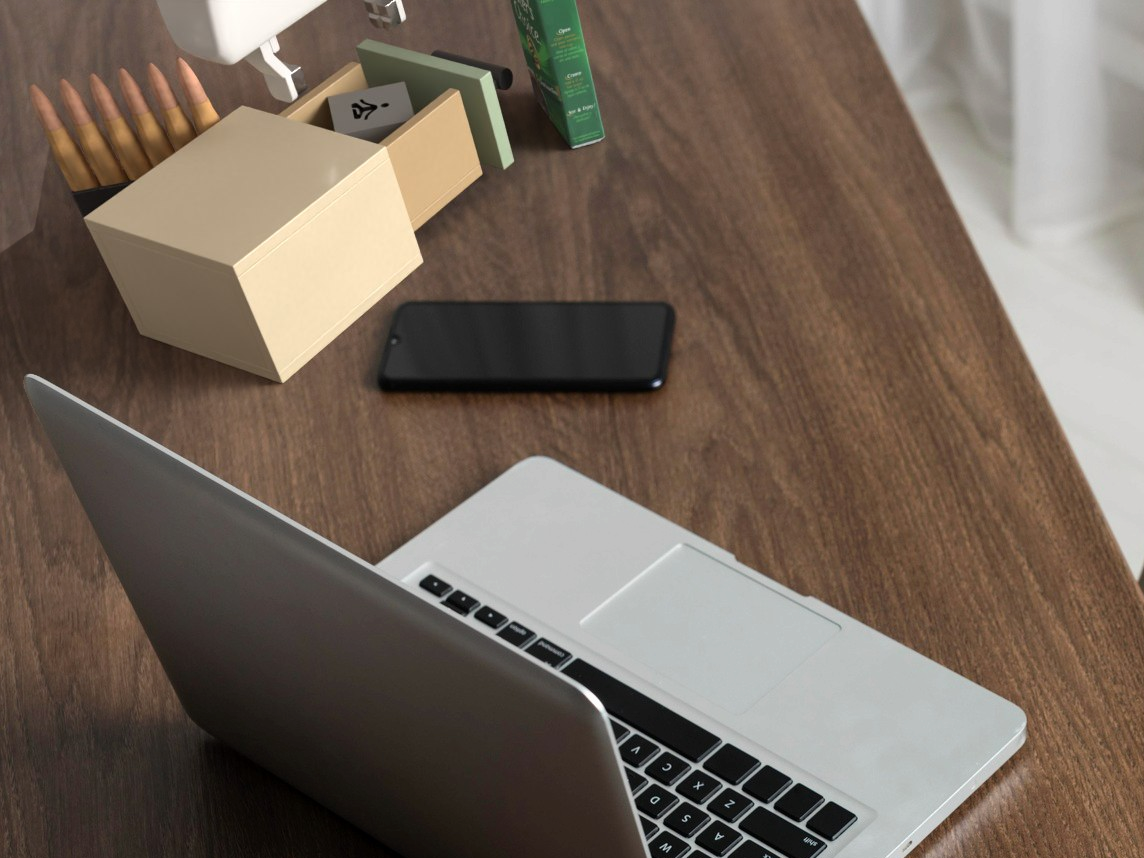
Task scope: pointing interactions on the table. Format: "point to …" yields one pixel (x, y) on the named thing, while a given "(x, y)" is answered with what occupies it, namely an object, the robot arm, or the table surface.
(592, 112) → the coffee box
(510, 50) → the table surface
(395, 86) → the dice cube
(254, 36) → the robot arm
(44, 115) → the ammunition clip
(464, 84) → the drawer
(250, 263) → the cabinet
